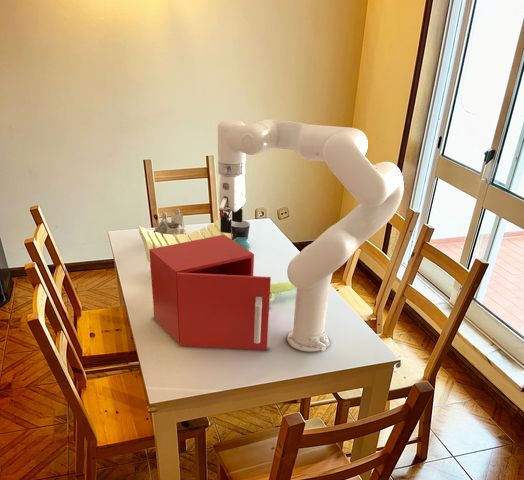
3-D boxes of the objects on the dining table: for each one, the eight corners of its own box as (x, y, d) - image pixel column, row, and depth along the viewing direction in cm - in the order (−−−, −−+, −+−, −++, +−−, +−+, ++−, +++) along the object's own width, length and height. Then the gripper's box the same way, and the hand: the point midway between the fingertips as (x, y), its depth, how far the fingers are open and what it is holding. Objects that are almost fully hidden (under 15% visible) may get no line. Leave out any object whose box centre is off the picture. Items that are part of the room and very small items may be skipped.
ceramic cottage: (157, 236, 238) (156, 202, 229) (194, 241, 236) (194, 208, 227) (144, 251, 226) (141, 217, 216) (182, 258, 223) (182, 223, 214)
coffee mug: (248, 250, 229) (249, 227, 224) (228, 249, 229) (228, 226, 224) (249, 240, 239) (250, 217, 234) (229, 239, 239) (230, 217, 233)
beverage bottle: (247, 286, 201) (248, 234, 191) (229, 283, 202) (229, 231, 192) (251, 278, 207) (252, 227, 196) (233, 276, 208) (234, 225, 197)
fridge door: (266, 361, 161) (270, 287, 148) (177, 356, 161) (173, 283, 148) (266, 348, 166) (270, 276, 154) (180, 344, 166) (177, 272, 154)
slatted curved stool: (150, 289, 196) (147, 242, 186) (142, 271, 208) (138, 225, 199) (231, 279, 206) (231, 233, 196) (218, 262, 218) (218, 218, 208)
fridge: (251, 323, 179) (254, 254, 166) (179, 344, 167) (175, 271, 154) (223, 300, 192) (223, 234, 178) (154, 318, 179) (149, 249, 166)
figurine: (321, 315, 185) (323, 300, 182) (242, 309, 186) (243, 294, 183) (320, 290, 201) (322, 276, 198) (247, 285, 202) (248, 271, 199)
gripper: (234, 177, 146) (234, 238, 155) (253, 162, 160) (252, 219, 169) (207, 174, 148) (209, 235, 157) (229, 159, 162) (229, 216, 171)
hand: (231, 227), depth 163 cm, fingers open, 9 cm apart
